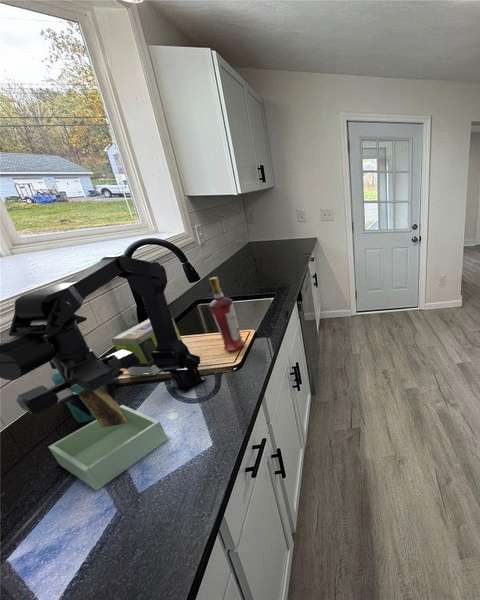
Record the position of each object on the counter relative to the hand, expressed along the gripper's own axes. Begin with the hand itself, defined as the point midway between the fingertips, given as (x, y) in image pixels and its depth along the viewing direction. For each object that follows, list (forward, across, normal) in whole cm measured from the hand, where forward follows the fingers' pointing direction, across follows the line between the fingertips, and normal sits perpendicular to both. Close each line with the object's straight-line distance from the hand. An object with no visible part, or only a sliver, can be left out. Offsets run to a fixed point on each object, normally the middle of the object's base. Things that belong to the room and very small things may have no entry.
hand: (101, 408), depth 71 cm
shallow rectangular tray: (+13, -1, +1) cm, 13 cm away
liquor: (+13, +44, +15) cm, 48 cm away
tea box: (+13, +27, +33) cm, 44 cm away
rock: (+3, 0, 0) cm, 3 cm away
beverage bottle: (+13, +3, +21) cm, 25 cm away
